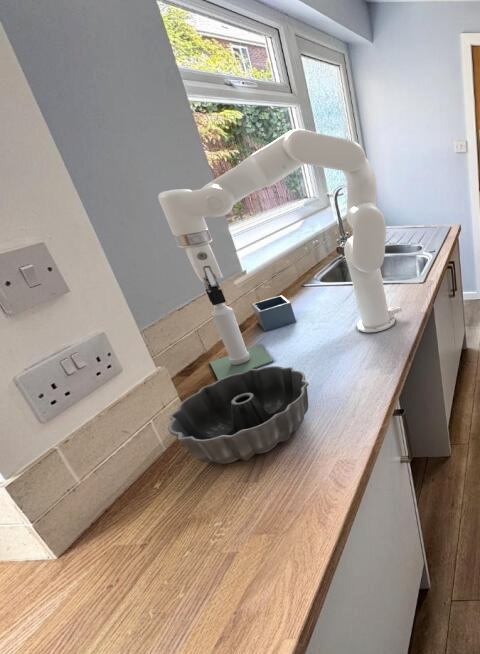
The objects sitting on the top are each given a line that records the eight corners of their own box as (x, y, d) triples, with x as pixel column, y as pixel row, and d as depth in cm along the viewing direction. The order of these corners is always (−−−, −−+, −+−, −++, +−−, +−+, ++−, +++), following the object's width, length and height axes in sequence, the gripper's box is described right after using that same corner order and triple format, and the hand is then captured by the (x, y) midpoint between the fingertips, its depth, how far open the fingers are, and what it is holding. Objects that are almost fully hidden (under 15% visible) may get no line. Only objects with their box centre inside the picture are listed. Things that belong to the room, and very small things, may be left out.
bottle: (236, 356, 124) (206, 280, 113) (254, 355, 124) (225, 279, 113) (227, 366, 119) (195, 287, 108) (245, 364, 119) (215, 286, 109)
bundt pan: (294, 384, 110) (284, 353, 106) (336, 428, 93) (326, 393, 89) (176, 436, 93) (158, 401, 89) (201, 502, 76) (180, 463, 72)
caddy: (287, 313, 153) (281, 295, 150) (296, 321, 146) (290, 302, 143) (258, 322, 147) (251, 303, 143) (265, 331, 140) (258, 311, 137)
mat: (260, 345, 131) (260, 344, 131) (273, 361, 121) (273, 360, 121) (209, 363, 122) (209, 362, 122) (219, 382, 113) (218, 380, 113)
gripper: (216, 240, 103) (240, 305, 110) (205, 230, 113) (227, 291, 121) (180, 247, 98) (207, 315, 106) (172, 236, 109) (197, 298, 116)
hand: (218, 301), depth 113 cm, fingers closed on bottle, 2 cm apart
